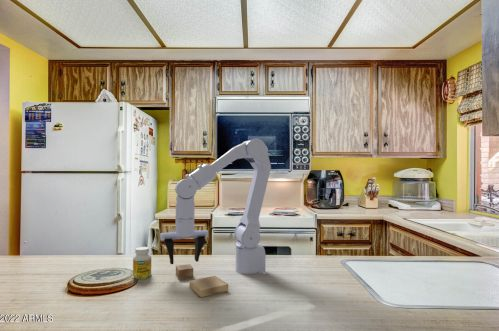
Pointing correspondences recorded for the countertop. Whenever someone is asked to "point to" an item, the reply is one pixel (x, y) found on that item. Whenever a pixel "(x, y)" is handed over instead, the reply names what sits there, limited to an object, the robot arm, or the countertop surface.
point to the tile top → (208, 286)
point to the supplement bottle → (142, 263)
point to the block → (184, 271)
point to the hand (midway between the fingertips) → (184, 262)
